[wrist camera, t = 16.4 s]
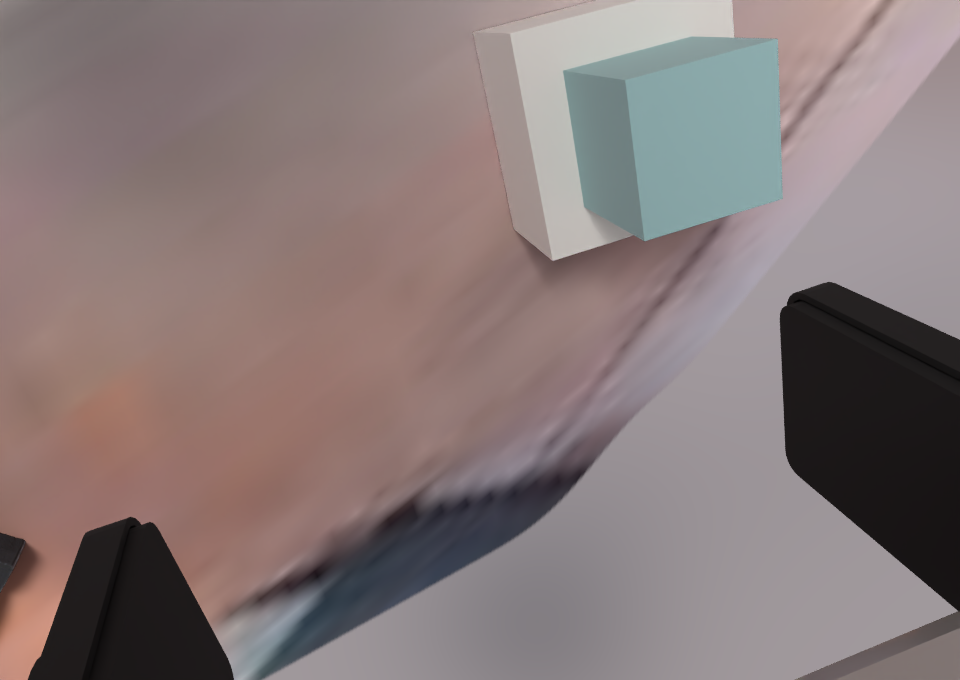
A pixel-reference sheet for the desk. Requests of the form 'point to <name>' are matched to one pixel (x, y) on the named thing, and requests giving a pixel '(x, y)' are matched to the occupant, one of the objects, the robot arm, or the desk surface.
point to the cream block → (544, 106)
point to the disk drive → (9, 556)
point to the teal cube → (678, 132)
